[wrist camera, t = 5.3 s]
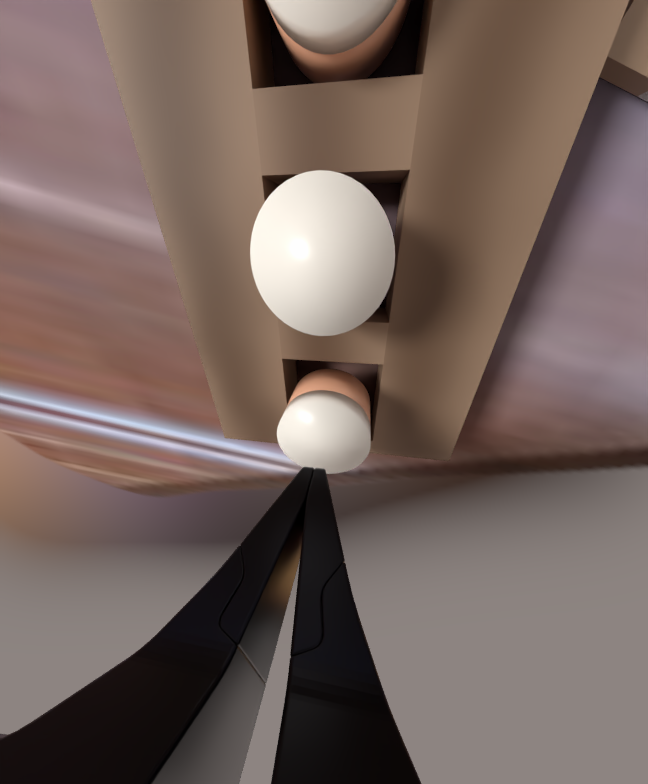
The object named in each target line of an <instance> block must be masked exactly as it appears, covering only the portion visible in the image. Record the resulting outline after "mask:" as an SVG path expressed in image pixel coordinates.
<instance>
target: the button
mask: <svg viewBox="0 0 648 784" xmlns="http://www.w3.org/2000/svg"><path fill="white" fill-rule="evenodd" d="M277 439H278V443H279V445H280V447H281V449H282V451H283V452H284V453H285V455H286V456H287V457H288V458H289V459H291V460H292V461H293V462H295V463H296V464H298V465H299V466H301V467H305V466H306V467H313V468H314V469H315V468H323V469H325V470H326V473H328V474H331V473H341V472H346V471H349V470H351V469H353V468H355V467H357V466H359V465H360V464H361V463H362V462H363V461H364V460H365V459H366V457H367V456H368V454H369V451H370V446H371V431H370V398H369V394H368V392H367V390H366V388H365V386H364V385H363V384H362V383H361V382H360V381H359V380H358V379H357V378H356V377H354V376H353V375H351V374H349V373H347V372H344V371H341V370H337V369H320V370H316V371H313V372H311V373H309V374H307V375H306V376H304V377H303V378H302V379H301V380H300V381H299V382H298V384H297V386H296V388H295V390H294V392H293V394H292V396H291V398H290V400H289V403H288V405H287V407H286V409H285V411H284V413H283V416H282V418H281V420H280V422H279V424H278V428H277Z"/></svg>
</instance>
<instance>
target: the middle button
mask: <svg viewBox="0 0 648 784" xmlns="http://www.w3.org/2000/svg"><path fill="white" fill-rule="evenodd" d="M250 259H251V267H252V272H253V277H254V280H255V283H256V286H257V288H258V290H259V292H260V295H261V296H262V298H263V300H264V301H265V303H266V304H267V306H268V307H269V308H270V310H271V311H272V312H273V313H274V314H275V315H276V316H277V317H278V318H279V319H280V320H282V321H283V322H284V323H286V324H287V325H289V326H290V327H292V328H294V329H296V330H298V331H300V332H303V333H306V334H310V335H316V336H332V335H338V334H341V333H345V332H347V331H350V330H352V329H354V328H356V327H357V326H359V325H361V324H362V323H363V322H365V321H366V320H367V319H368V318H369V317H370V316H371V315H372V314H373V313H374V312H375V311H376V310H377V308H378V307H379V306H380V304H381V303H382V301H383V299H384V298H385V296H386V293H387V291H388V289H389V286H390V283H391V280H392V276H393V271H394V264H395V244H394V238H393V233H392V229H391V226H390V223H389V220H388V218H387V216H386V214H385V211H384V210H383V208H382V206H381V205H380V203H379V202H378V200H377V199H376V198H375V197H374V195H373V194H372V193H371V192H370V191H369V190H368V189H367V188H366V187H364V186H363V185H362V184H361V183H359V182H358V181H356V180H354V179H353V178H351V177H349V176H346V175H344V174H341V173H338V172H333V171H324V170H317V171H309V172H305V173H302V174H299V175H296V176H294V177H292V178H290V179H288V180H287V181H285V182H284V183H282V184H281V185H280V186H278V187H277V188H276V189H275V190H274V191H273V192H272V193H271V194H270V196H269V197H268V198H267V200H266V201H265V202H264V204H263V206H262V208H261V209H260V211H259V213H258V216H257V218H256V221H255V223H254V227H253V231H252V236H251V244H250Z"/></svg>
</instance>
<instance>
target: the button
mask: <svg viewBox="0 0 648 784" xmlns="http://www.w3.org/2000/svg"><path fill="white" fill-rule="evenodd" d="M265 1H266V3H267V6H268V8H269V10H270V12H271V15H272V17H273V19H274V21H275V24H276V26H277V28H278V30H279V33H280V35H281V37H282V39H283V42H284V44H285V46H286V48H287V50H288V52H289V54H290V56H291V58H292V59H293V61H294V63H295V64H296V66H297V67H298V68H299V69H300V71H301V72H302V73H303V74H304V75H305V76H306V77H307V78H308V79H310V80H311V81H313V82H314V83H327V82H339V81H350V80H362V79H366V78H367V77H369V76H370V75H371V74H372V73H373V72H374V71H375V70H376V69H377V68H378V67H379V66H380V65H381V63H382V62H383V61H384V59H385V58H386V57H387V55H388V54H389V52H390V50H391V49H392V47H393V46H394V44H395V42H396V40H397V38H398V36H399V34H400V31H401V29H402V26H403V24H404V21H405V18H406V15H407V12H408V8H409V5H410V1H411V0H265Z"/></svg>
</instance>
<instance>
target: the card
mask: <svg viewBox="0 0 648 784" xmlns="http://www.w3.org/2000/svg"><path fill="white" fill-rule="evenodd" d="M599 77H600V78H602V79H604V80H606V81H608V82H610V83H612V84H614V85H616V86H618V87H620V88H622V89H624V90H625V91H627V92H629V93H631V94H633V95H635V96H637V97H639V98H641V99H643V100H645V101H647V102H648V0H629V2H628V5H627V7H626V10H625V12H624V15H623V17H622V20H621V23H620V25H619V28H618V30H617V33H616V35H615V38H614V40H613V43H612V46H611V48H610V51H609V53H608V56H607V58H606V61H605V63H604V66H603V69H602V71H601V74H600V76H599Z"/></svg>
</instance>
